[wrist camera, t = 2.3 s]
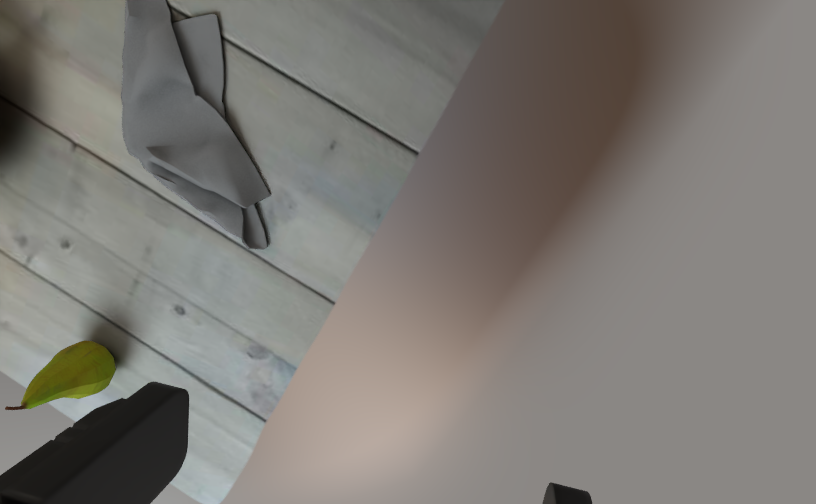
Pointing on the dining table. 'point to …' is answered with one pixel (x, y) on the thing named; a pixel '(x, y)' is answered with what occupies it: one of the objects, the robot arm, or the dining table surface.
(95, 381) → the fruit
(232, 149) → the cloth
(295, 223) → the dining table surface
